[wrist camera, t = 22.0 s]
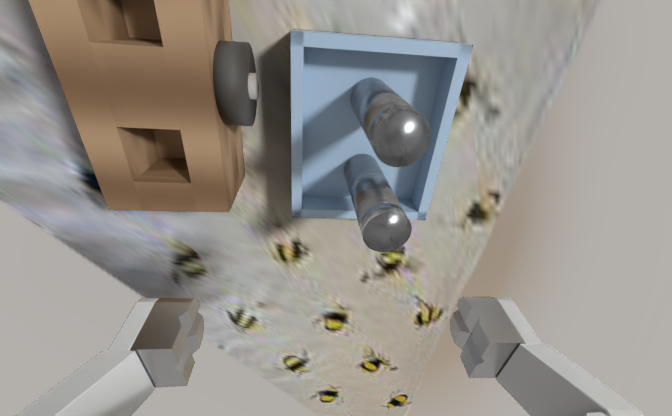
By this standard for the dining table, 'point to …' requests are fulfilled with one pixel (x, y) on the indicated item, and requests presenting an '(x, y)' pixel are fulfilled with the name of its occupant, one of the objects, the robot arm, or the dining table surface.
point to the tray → (343, 126)
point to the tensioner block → (155, 97)
